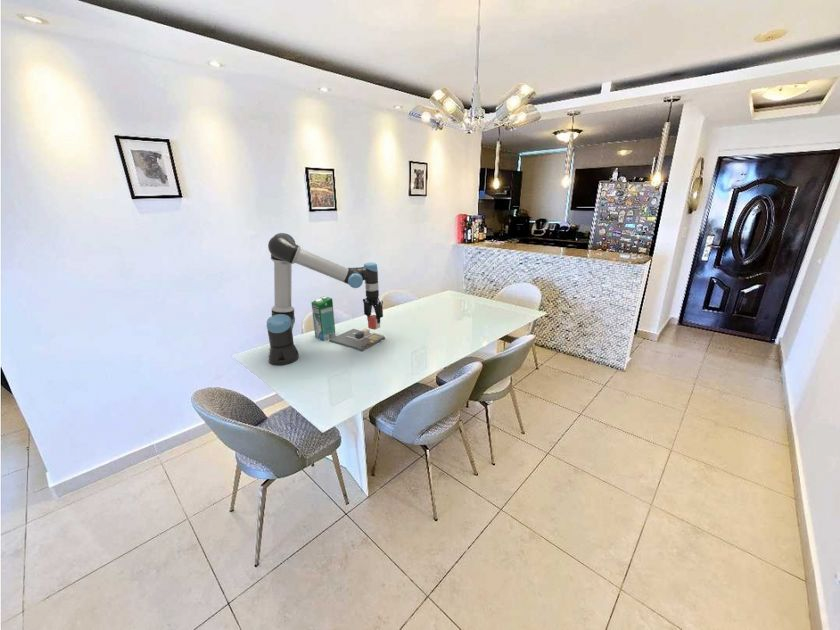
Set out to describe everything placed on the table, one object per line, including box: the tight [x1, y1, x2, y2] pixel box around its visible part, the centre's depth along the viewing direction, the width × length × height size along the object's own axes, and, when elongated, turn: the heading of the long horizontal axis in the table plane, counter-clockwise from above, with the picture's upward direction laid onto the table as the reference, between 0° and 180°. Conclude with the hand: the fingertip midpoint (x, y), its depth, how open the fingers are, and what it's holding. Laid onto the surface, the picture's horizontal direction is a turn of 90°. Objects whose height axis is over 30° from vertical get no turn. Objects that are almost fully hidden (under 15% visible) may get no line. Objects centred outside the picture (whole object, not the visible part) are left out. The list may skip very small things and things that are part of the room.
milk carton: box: [310, 295, 337, 342], centre depth 206 cm, size 9×9×25 cm
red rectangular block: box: [367, 314, 377, 331], centre depth 203 cm, size 5×5×7 cm
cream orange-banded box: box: [361, 328, 371, 336], centre depth 209 cm, size 3×4×4 cm
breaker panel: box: [328, 328, 386, 352], centre depth 205 cm, size 26×21×5 cm
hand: (374, 327), depth 204 cm, fingers closed on red rectangular block, 5 cm apart
